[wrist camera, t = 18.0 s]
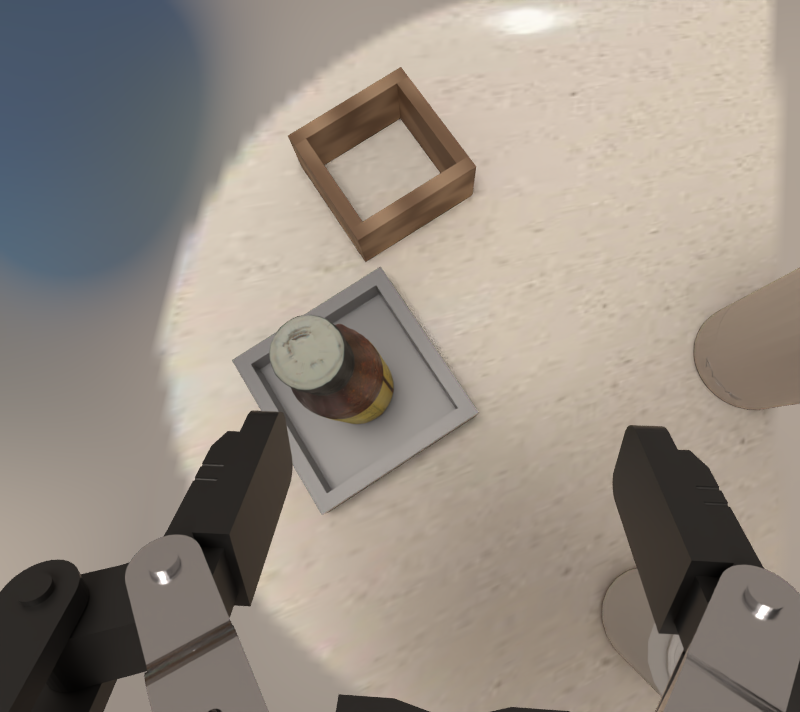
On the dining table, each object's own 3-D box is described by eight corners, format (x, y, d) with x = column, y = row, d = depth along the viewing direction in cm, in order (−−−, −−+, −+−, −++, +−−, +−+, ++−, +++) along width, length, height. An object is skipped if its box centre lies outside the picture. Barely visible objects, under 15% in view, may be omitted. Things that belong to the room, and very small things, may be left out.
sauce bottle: (331, 350, 48) (260, 274, 29) (400, 360, 48) (375, 288, 28) (318, 423, 47) (235, 395, 28) (389, 434, 47) (354, 413, 27)
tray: (384, 280, 50) (380, 266, 47) (475, 416, 47) (478, 412, 44) (245, 367, 50) (231, 360, 46) (329, 511, 47) (321, 514, 43)
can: (624, 680, 43) (695, 762, 31) (582, 585, 44) (636, 628, 32) (712, 644, 43) (816, 712, 31) (667, 550, 44) (751, 581, 33)
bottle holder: (404, 103, 54) (400, 67, 49) (472, 194, 51) (476, 166, 47) (301, 166, 53) (287, 135, 48) (365, 261, 51) (358, 240, 46)
